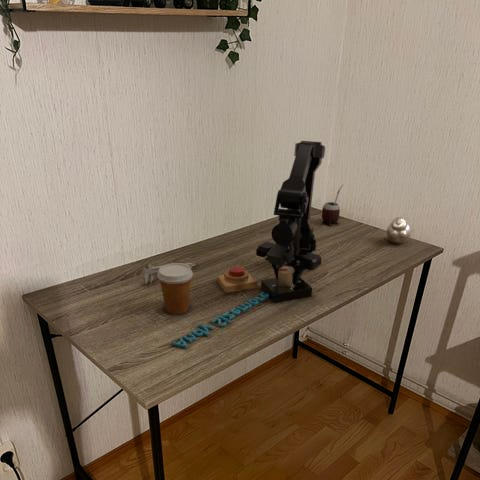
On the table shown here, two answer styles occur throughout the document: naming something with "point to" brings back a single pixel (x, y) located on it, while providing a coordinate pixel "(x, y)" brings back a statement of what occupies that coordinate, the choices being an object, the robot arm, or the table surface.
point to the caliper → (155, 272)
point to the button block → (236, 282)
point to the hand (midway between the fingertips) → (286, 282)
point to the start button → (236, 271)
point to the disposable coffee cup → (175, 286)
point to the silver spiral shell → (399, 230)
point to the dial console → (285, 290)
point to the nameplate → (205, 327)
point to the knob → (285, 276)
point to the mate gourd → (331, 211)
